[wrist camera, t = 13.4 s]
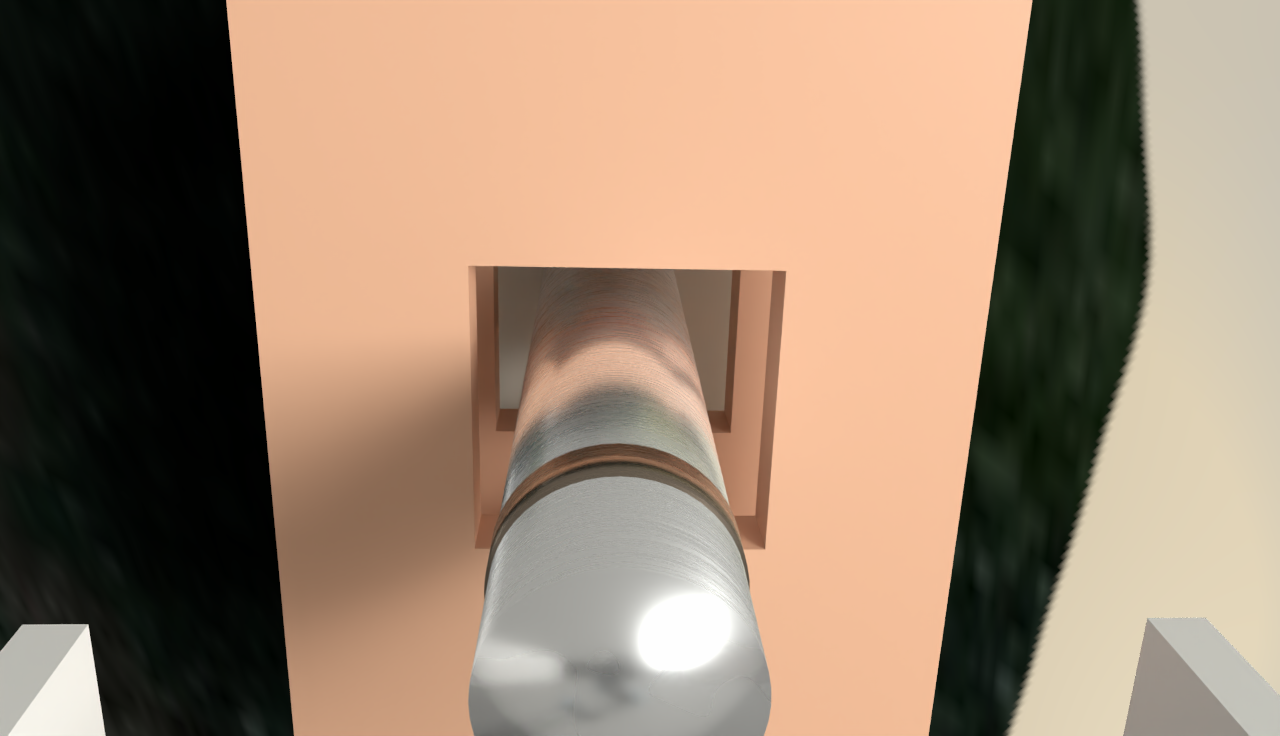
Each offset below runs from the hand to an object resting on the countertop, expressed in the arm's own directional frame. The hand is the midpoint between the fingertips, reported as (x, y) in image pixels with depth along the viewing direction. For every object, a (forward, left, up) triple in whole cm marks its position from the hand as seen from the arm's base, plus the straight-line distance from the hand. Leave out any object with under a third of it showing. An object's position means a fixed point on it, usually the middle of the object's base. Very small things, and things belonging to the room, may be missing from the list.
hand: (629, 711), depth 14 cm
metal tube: (0, 0, -19) cm, 19 cm away
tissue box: (0, 0, -20) cm, 20 cm away
